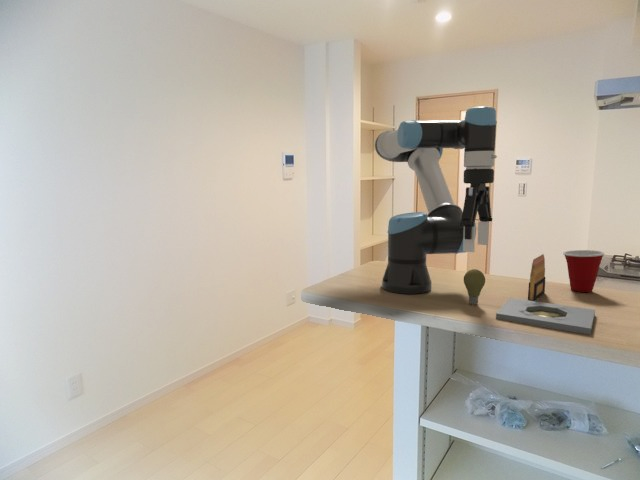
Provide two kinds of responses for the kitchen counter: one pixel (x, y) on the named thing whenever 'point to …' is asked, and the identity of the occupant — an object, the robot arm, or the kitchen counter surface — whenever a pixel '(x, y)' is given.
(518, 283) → the kitchen counter surface
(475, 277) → the light bulb
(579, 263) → the plastic cup
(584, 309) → the socket plate
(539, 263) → the ammunition clip
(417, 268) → the robot arm
